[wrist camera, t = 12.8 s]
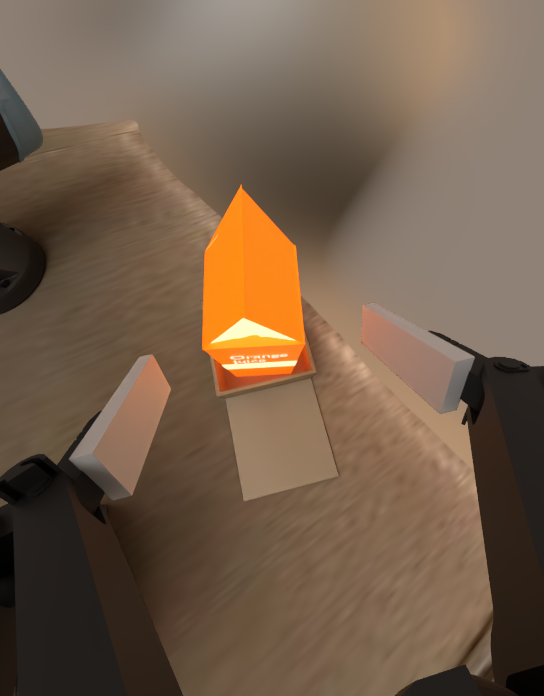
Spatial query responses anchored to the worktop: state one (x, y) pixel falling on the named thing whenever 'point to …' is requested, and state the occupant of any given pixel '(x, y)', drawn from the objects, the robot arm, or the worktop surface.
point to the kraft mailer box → (276, 428)
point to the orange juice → (251, 294)
